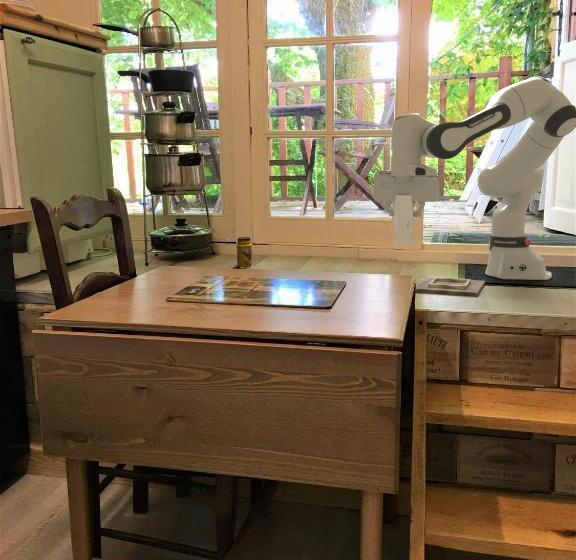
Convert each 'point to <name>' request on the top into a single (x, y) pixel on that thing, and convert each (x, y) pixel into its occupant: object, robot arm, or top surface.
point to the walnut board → (450, 286)
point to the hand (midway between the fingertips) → (405, 216)
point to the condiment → (244, 253)
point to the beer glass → (404, 219)
